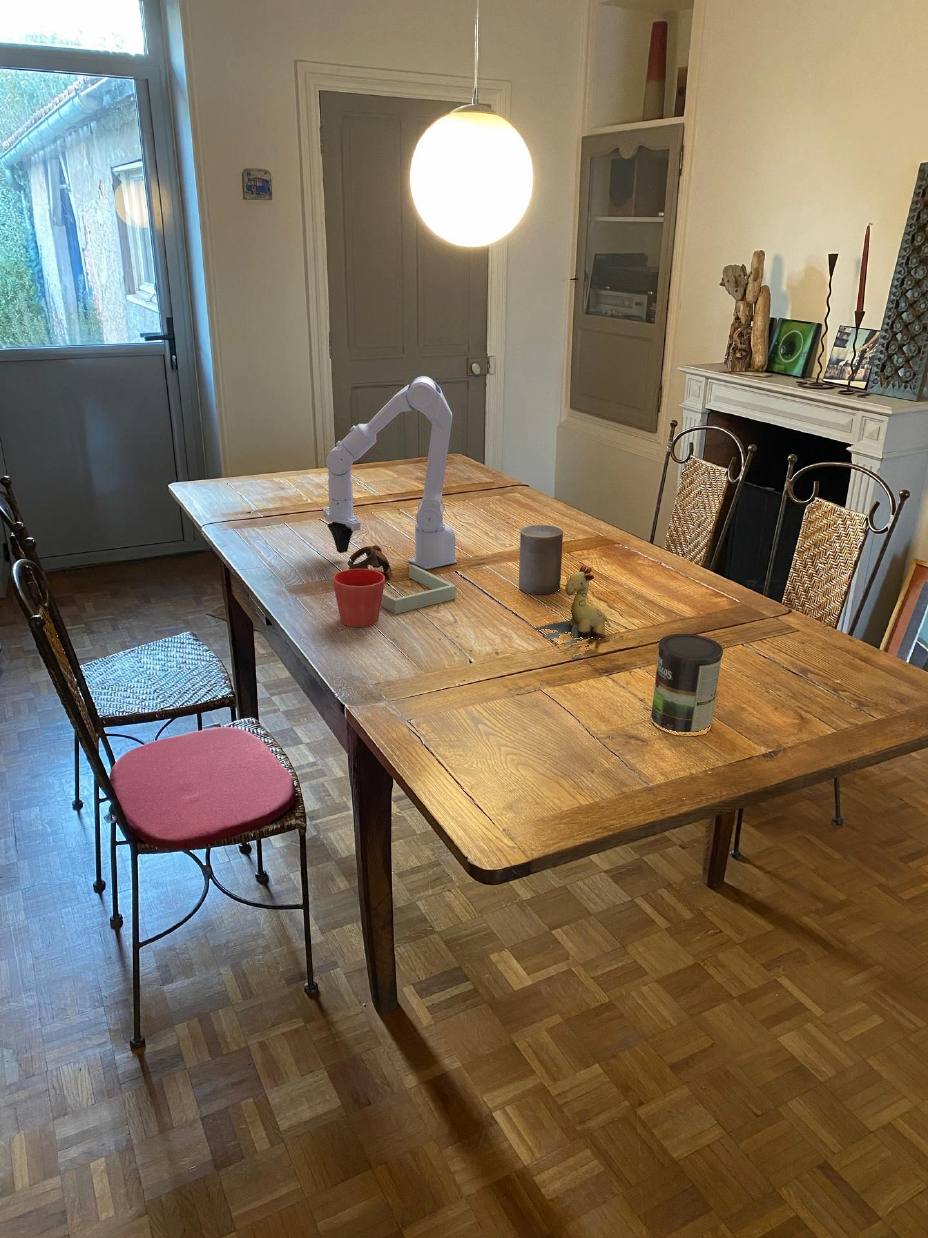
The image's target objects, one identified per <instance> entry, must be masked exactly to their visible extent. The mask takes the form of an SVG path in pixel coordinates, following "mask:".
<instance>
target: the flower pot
mask: <svg viewBox="0 0 928 1238" xmlns="http://www.w3.org/2000/svg"><path fill="white" fill-rule="evenodd" d="M385 580H386V577H385V575H384V573H382V572H380V571H378V570H375V569H371V568H370V569H369V568H368V569H349V568H348V569H344V570H341V571H339V572H336V573H335V574H334V575H333V576H332V582H333V588H334V589H333V590H334V594H335V599H336V600H335V601H336V605H337V609H338V610H337V611H338V613H339V617H340V622H341V623H342V624H344V626H347V627H352V628H354V627H355V628H366V627H371V626H374V625H375V624H377V622H378V621H379V616H380V611H381V607H382V606H381V601H382V595H383V591H384V589H385V582H386V581H385Z"/></svg>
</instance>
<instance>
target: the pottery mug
mask: <svg viewBox="0 0 928 1238" xmlns="http://www.w3.org/2000/svg"><path fill="white" fill-rule="evenodd" d="M363 555H366V558H364V559H362V560H361V561H359V562H357V563H355V562H356V560H358V559H359V558H360V557H362V556H363ZM346 563H347V565H348V570H349V569H369V566H370V567H372V568H373V569H380V568H381V567H382V571H383V573H385V574H386V575H387V579H388V580H389V581H390V580H391V579H392V577H393V572H392V569H391V564H390V562H389V561H388V558H387V557H386V555H385V554H384V553H383V551H382V548H381V547H380V546H378V545H376V544H374V545H372V546H371V545H368V546H363V547H361V548H359V549H358V550H355V552H354V553H352V554H351V555H350V557H349V560H348V561H347V562H346Z"/></svg>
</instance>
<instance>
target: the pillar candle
mask: <svg viewBox="0 0 928 1238" xmlns="http://www.w3.org/2000/svg"><path fill="white" fill-rule="evenodd" d="M519 534H520V535H519V564H518V565H519V566H518V567H519V568H518V588H519V590H521V591H522V590H523V591H522V592H523V593H526V592H527V593H526V594H529V593H531V594H530V595H535V594H538V595H539V596H540V595H541V594H546V595H551V594H556V593H558V592H559V591H560V590H561V578H562V560H563V543H564V541H563V540H564V538H563V537H564V532H563V530H562V529H561V528H559V527H557V526H555V525H554V526H553V525H548V524H534V525H526V526H524V527H522V528H520V531H519ZM559 589H560V590H559ZM558 590H559V591H558ZM555 592H556V593H555ZM538 595H537V596H538ZM541 596H542V595H541Z"/></svg>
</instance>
